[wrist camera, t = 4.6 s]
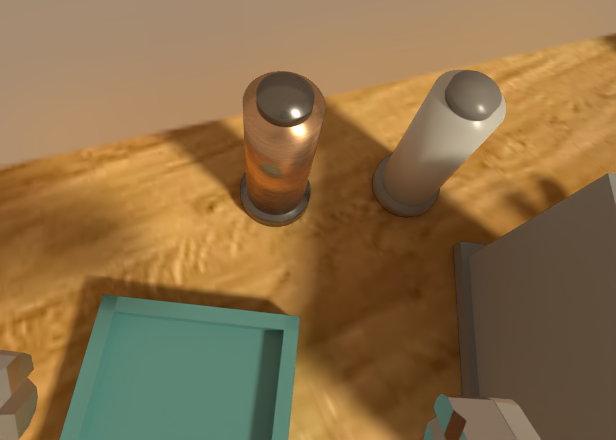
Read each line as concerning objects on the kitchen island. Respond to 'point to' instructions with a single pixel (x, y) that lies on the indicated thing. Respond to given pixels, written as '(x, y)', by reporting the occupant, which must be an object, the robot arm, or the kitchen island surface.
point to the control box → (546, 316)
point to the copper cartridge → (279, 146)
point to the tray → (184, 373)
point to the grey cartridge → (438, 141)
